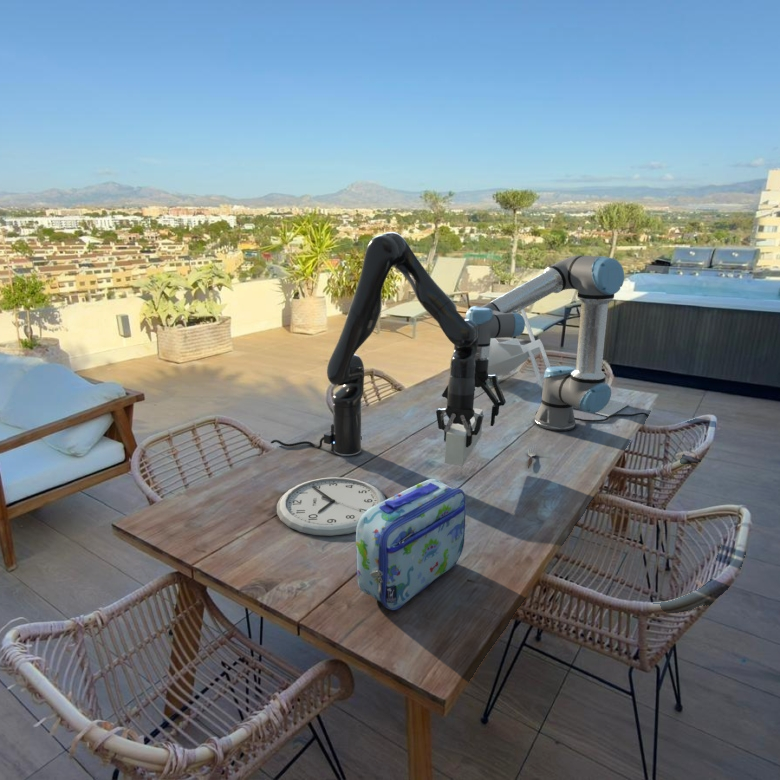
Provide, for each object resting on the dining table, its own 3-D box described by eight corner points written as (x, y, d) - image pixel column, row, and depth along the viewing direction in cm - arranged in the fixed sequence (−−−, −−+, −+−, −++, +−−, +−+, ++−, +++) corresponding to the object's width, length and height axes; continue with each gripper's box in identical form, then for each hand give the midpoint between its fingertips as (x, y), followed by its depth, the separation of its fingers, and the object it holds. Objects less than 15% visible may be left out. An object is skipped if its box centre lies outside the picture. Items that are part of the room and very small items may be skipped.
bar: (465, 433, 176) (466, 407, 173) (481, 436, 174) (483, 409, 171) (444, 463, 154) (446, 433, 151) (462, 466, 152) (464, 436, 149)
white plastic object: (490, 420, 264) (470, 397, 239) (471, 347, 286) (451, 319, 261) (562, 396, 252) (549, 369, 227) (536, 322, 274) (521, 290, 249)
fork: (523, 469, 166) (524, 463, 165) (529, 450, 180) (529, 445, 179) (532, 470, 165) (532, 464, 164) (536, 451, 179) (537, 446, 179)
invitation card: (608, 416, 214) (573, 407, 224) (608, 416, 214) (573, 408, 224) (628, 404, 229) (594, 396, 238) (628, 405, 229) (594, 397, 238)
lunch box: (385, 624, 100) (387, 528, 94) (349, 596, 108) (348, 506, 101) (468, 566, 118) (474, 482, 112) (432, 545, 125) (436, 466, 119)
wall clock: (392, 527, 129) (268, 531, 127) (391, 533, 130) (269, 537, 127) (383, 473, 158) (282, 475, 155) (383, 478, 158) (282, 480, 156)
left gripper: (433, 390, 149) (430, 445, 154) (483, 397, 144) (478, 453, 149) (440, 383, 155) (438, 436, 160) (488, 389, 150) (484, 444, 155)
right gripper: (434, 355, 164) (431, 419, 171) (514, 365, 156) (508, 431, 162) (441, 351, 171) (438, 412, 177) (518, 359, 162) (512, 423, 169)
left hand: (457, 444), depth 154 cm, fingers closed on bar, 5 cm apart
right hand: (471, 421), depth 170 cm, fingers open, 13 cm apart
